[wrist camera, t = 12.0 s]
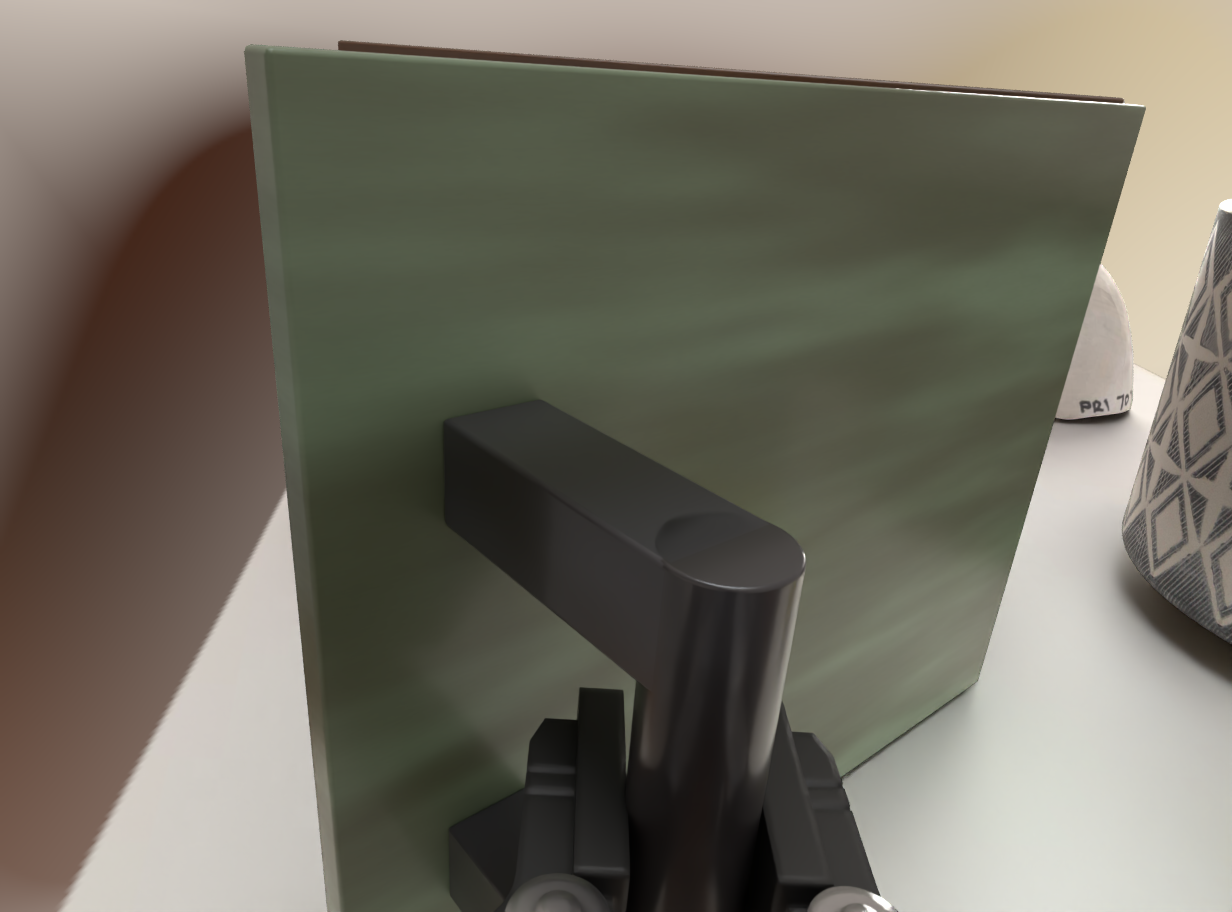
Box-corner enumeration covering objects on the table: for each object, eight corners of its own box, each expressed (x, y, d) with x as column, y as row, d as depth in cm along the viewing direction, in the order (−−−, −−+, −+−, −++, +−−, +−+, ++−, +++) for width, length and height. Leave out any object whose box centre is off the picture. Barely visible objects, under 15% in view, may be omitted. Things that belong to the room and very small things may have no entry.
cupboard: (964, 668, 33) (1126, 98, 25) (367, 570, 36) (336, 40, 28) (912, 488, 47) (1004, 90, 39) (488, 430, 51) (491, 52, 43)
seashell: (984, 433, 75) (907, 276, 74) (1162, 367, 68) (1079, 191, 67) (957, 493, 63) (865, 305, 62) (1172, 420, 55) (1071, 205, 54)
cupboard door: (1147, 779, 28) (1419, 126, 20) (521, 1447, 14) (595, 77, 6) (958, 670, 33) (1118, 103, 25) (343, 1083, 18) (241, 43, 10)
